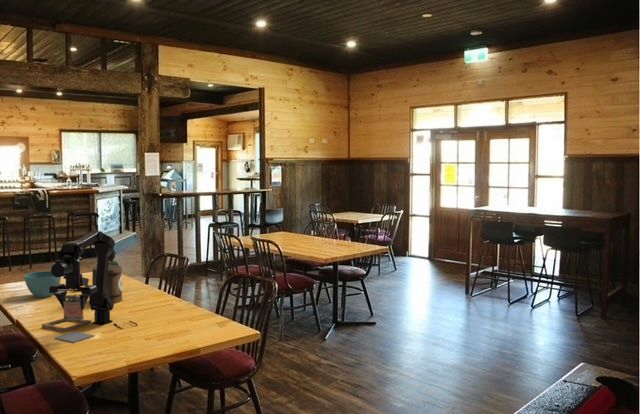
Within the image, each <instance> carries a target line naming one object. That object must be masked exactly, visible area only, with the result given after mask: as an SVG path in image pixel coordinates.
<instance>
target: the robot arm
mask: <svg viewBox="0 0 640 414" xmlns="http://www.w3.org/2000/svg"><path fill="white" fill-rule="evenodd" d="M115 244H116V242H115V240H114V238H112V237H111V236H109V235H108V234H106V233H104V232H102V231H101V230H91V231H89V233H87V234H85V235H83V236H82V237H80V238H78V239H77V240H73V241H71V240H70V241H67V242H64V243H63V244H62V246H61V248H60V251H59V254H58V255H57V259H56V260H55V263H54V264H52V266H51V268H50V271H51V273H52V275H53V276H55V277H61V278H62V277H63V279H65V280H64V281H65V283H60V284H55V285H52V286H50V287H49V293H53V295H52V296H55V298H56V299H57V300H58V302H59V304H60V305H61V307H62V309H63V310H64V304H63V301H67V299H65V296H66V295H67V294H68V292H79V293H81V294H79V296H80V303H81V309H82V310H83V311H85V309H86V308H85V307H86V304H87V301H88V304H89V307H90V311H94V313H93V315H94V321H91V324H95V325H100V326H103V325H107V324H109V323H113V320H112V319H111V311H113V309H114V306H115V305H114V304H115V303H113V302H112V301H111V300H110V294H109V292H108V290H107V276H108V264H109V256H110V255H111V253H112V252H113V250H115ZM91 245H93V246H94V252H95V254H96V257H97V259H96V267H97V271H96V282H95V285H92V284H91V285H90V284H89V278H88V277H84V276H83V274H82V273H81V261H83V258H82V255H83V254H84V253H85V249H87V248H89V247H90V246H91Z"/></svg>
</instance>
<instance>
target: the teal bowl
mask: <svg viewBox="0 0 640 414" xmlns="http://www.w3.org/2000/svg"><path fill="white" fill-rule="evenodd" d="M23 278H24V283H25V285H26V287H27V289H28V290H29V292H30V294H32V295H33V296H34V297H35V298H39V299H43V298H49V297H52V296H54V295H53V293H49V287H50V286H52V285H55V284H61V279H62V277H55V276H53V275H52V273H51V270H45V271H33V272H29V273H26V274H25V275H24V277H23Z"/></svg>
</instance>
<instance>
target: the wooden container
mask: <svg viewBox="0 0 640 414" xmlns="http://www.w3.org/2000/svg"><path fill="white" fill-rule="evenodd" d="M122 270H123V268H122V266H121V265H119V266H117V265H110V261H109V264H108V276H107V290H108V292H109V294H110V300H111V301H112V302H113V304H117V303H120V302H122V301H123V283H122V282H123V280H122V278H123V277H122V273H123V272H122ZM91 271H92V274H91V275H92V276H91V277H92V284H91V285H95V282H96V271H97V266H94V267H93V268H92V270H91Z"/></svg>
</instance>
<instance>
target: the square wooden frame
mask: <svg viewBox="0 0 640 414" xmlns="http://www.w3.org/2000/svg"><path fill="white" fill-rule="evenodd" d="M66 322H74V323H76V324H73V325H70V326H66V327H62V326H56V325H59V324H62V323H66ZM86 325H87V326H90V325H92V320H89V319H85V318H84V319H81V320H64V317H63V318H61V319H56V320H53V321H50V322H46V323H42V324H41V328H42V329H46V330H49V331H50V330H51V331H56V332H60V333H67V332H69V331H73V330H76V329H79V328H83V327H86Z"/></svg>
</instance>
